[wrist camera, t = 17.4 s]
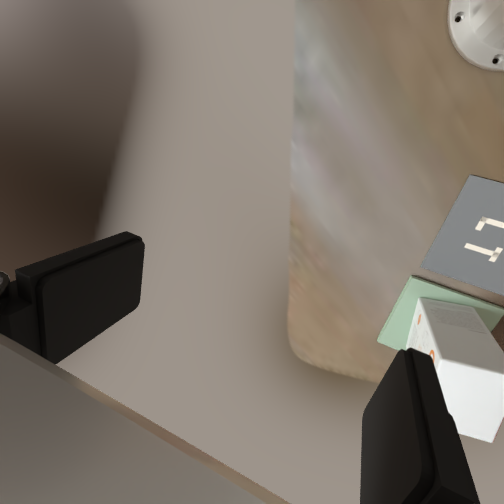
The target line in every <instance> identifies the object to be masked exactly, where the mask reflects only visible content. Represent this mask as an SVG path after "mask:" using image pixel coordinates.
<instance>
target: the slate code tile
mask: <svg viewBox="0 0 504 504" xmlns="http://www.w3.org/2000/svg"><path fill="white" fill-rule="evenodd" d="M420 267H421V268H424V269H427V270H430V271H433V272H436V273H439V274H442V275H445V276H448V277H451V278H453V279H456V280H459V281H462V282H465V283H468V284H471V285H474V286H477V287H480V288H483V289H486V290H488V291H491V292H494V293H497V294H500V295H503V296H504V183H500V182H496V181H492V180H488V179H484V178H481V177H477V176H473V175H469V177H468V179H467V181H466V183H465V184H464V186H463V188H462V190H461V192H460V194H459V196H458V197H457V199H456V201H455V203H454V205H453V207H452V209H451V210H450V212H449V214H448V216H447V218H446V220H445V222H444V223H443V225H442V227H441V229H440V231H439V233H438V235H437V236H436V238H435V240H434V242H433V244H432V246H431V247H430V249H429V251H428V253H427V255H426V257H425V259H424V260H423V262H422V264H421V266H420Z"/></svg>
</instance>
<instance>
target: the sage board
mask: <svg viewBox="0 0 504 504" xmlns="http://www.w3.org/2000/svg"><path fill="white" fill-rule="evenodd" d="M419 297H421V298H426V299H432V300H438V301H443V302H449V303H454V304H460V305H466V306H472V307H474V309H475V310H476V312H477V313H478V315H479V316H480V318H481V319H482V321H483V322H484V324H485V325H486V327H487V328H488V329H489V331H490V333H491V331H492V330H493V329H494V327H495V326H496V325H497V323H498V322H499V320H500V319H501V318H502V316H503V315H504V308H503V307H500V306H497V305H495V304H492V303H489V302H486V301H483V300H480V299H478V298H475V297H472V296H469V295H466V294H463V293H461V292H458V291H455V290H452V289H449V288H446V287H443V286H441V285H438V284H435V283H432V282H429V281H426V280H424V279H421V278H418V277H415V276H412V275H411V276H410V278H409V280H408V282H407V283H406V285H405V287H404V289H403V291H402V293H401V295H400V297H399V298H398V300H397V302H396V304H395V306H394V308H393V310H392V312H391V314H390V315H389V317H388V319H387V321H386V323H385V325H384V327H383V329H382V330H381V332H380V334H379V336H378V338H377V342H379V343H382V344H384V345H386V346H389V347H391V348H394V349H396V350H398V351H399V350H400V349H403V350H407V349H406V344H407V340H408V335H409V332H410V328H411V324H412V320H413V316H414V312H415V309H416V305H417V301H418V298H419Z"/></svg>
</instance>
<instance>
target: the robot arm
mask: <svg viewBox="0 0 504 504" xmlns="http://www.w3.org/2000/svg"><path fill="white" fill-rule="evenodd" d="M456 18H460V22H458V23H457V22H455V19H456ZM447 21H448V28H449V35H450V37H451V40H452V42H453V45H454V47H455V48H456V50H457V51H458V52H459V54H460V55H461V56H462V57H463V58H464V59H465V60H467V61H468V62H469V63H471V64H473V65H475V66H477V67H479V68H481V69H486V70H490V71H500V72H504V0H450V2H449V6H448V20H447ZM493 59H497V63H496V64H493V62H492V61H493ZM144 249H145V244H144V243H143V241H142V238H141V237H140V236H137V235H134V234H132V233H130V232H127V231H126V232H122V233H119V234H116V235H114V236H111V237H108V238H105V239H102V240H99V241H96V242H94V243H91V244H88V245H85V246H82V247H79V248H76V249H73V250H70V251H68V252H65V253H62V254H59V255H56V256H53V257H50V258H47V259H45V260H42V261H39V262H36V263H33V264H30V265H28V266H25V267H22V268H19V269H16V270H15V273H16V280H15V281H12V282H10V278H9V276H8V275H7V274H6V273H4V272H1V271H0V504H290V503H288V502H287V501H285V500H284V499H282V498H280V497H279V496H277V495H276V494H274V493H272V492H270V491H269V490H267V489H265V488H264V487H262V486H260V485H259V484H257V483H255V482H254V481H252V480H250V479H249V478H247V477H245V476H243V475H242V474H240V473H239V472H237V471H235V470H234V469H232V468H230V467H228V466H227V465H225V464H223V463H222V462H220V461H218V460H217V459H215V458H213V457H212V456H210V455H208V454H207V453H205V452H203V451H202V450H200V449H198V448H196V447H195V446H193V445H191V444H190V443H188V442H186V441H185V440H183V439H181V438H180V437H178V436H176V435H175V434H173V433H171V432H169V431H168V430H166V429H164V428H163V427H161V426H159V425H158V424H156V423H154V422H152V421H151V420H149V419H147V418H146V417H144V416H142V415H141V414H139V413H137V412H135V411H134V410H132V409H130V408H129V407H127V406H125V405H123V404H122V403H120V402H118V401H117V400H115V399H113V398H111V397H110V396H108V395H106V394H105V393H103V392H101V391H100V390H98V389H96V388H94V387H93V386H91V385H89V384H88V383H86V382H84V381H82V380H81V379H79V378H77V377H76V376H74V375H72V374H70V373H69V372H67V371H65V370H63V369H62V368H60V367H58V366H57V365H55V364H57V363H59V362H60V361H61V360H63V359H64V358H66V357H67V356H69V355H70V354H72V353H73V352H74V351H76V350H77V349H79V348H80V347H82V346H83V345H84V344H86V343H87V342H89V341H90V340H92V339H93V338H95V337H96V336H97V335H99V334H100V333H102V332H103V331H105V330H106V329H107V328H109V327H110V326H112V325H113V324H115V323H116V322H118V321H119V320H120V319H122V318H123V317H125V316H126V315H128V314H129V313H131V312H132V311H133V310H135V309H136V308H137V307H138V305H139V303H140V295H141V284H142V271H143V260H144ZM360 504H480V501H479V498H478V495H477V492H476V489H475V485H474V482H473V479H472V476H471V472H470V469H469V466H468V463H467V459H466V456H465V453H464V450H463V447H462V444H461V440H460V437H459V434H458V430H457V427H456V424H455V421H454V419H453V417H452V415H451V414H450V413H448V409H447V406H446V403H445V399H444V396H443V393H442V389H441V386H440V383H439V379H438V376H437V372H436V369H435V366H434V362H433V359H432V357H431V356H430V355H428V354H426V353H423V352H421V351H418V350H416V349H413V348H411V347H410V348H408V349H407V350H403V349H400V350H399V352H398V353H397V355H396V357H395V358H394V360H393V362H392V363H391V365H390V367H389V369H388V370H387V372H386V374H385V375H384V377H383V379H382V381H381V382H380V384H379V386H378V387H377V389H376V391H375V393H374V394H373V396H372V398H371V399H370V401H369V403H368V405H367V406H366V408H365V410H364V413H363V419H362V452H361V489H360Z"/></svg>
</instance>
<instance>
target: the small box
mask: <svg viewBox="0 0 504 504" xmlns="http://www.w3.org/2000/svg"><path fill="white" fill-rule="evenodd" d="M410 347H411V348H413V349H416V350H418V351H421V352H423V353H426V354H428V355H430V356H431V357H432V359H433V362H434V366H435V369H436V372H437V376H438V379H439V383H440V386H441V389H442V393H443V396H444V399H445V403H446V406H447V409H448V413H450V414H451V415H452V417H453V419H454V421H455V424H456V427H457V430H458V433H459V434H463V435H466V436H469V437H473V438H476V439H480V440H484V441H487V442H490V443H493V442H494V439H495V437H496V435H497V432H498V430H499V428H500V426H501V424H502V421H503V419H504V352H503V350H502V349H501V348H500V346H499V344H498V343H497V342H496V340H495V339H494V337H493V336H492V334H491V333H490V331H489V329H488V328H487V327H486V325H485V324H484V322H483V321H482V319H481V318H480V316H479V315H478V313H477V312H476V310H475V309H474V307H472V306H466V305H460V304H454V303H449V302H443V301H438V300H432V299H426V298H421V297H419V298H418V301H417V305H416V309H415V312H414V316H413V320H412V324H411V328H410V332H409V335H408V340H407V344H406V349H408V348H410Z"/></svg>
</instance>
